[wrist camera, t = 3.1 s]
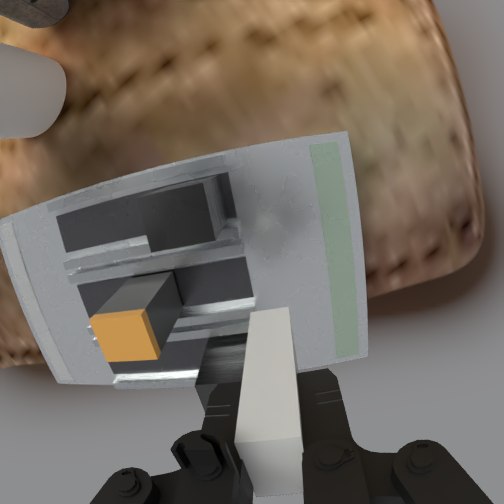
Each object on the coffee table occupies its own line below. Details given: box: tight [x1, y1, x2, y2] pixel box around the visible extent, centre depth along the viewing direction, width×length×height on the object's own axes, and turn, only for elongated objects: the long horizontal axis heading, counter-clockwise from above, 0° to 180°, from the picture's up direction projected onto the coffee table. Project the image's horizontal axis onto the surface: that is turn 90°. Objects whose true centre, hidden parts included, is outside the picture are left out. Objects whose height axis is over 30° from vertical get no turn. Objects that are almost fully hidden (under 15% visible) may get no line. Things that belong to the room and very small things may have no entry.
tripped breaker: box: [89, 271, 183, 362], centre depth 17 cm, size 3×2×6 cm
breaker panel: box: [0, 131, 368, 413], centre depth 19 cm, size 26×15×7 cm, turn 101°
